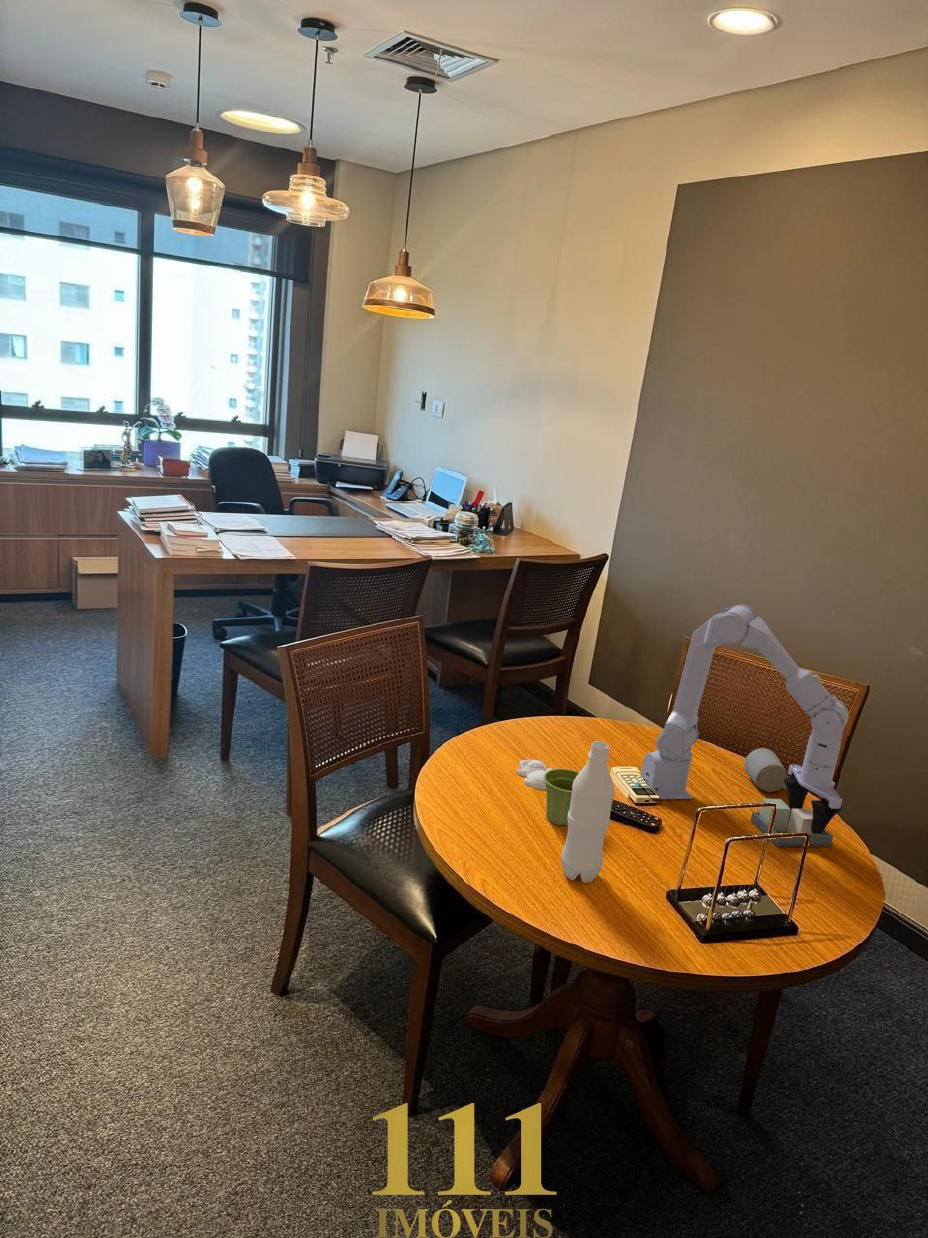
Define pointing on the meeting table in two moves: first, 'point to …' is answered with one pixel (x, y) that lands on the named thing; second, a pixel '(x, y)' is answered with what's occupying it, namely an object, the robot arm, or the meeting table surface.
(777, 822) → the sage block
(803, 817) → the grey block
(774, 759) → the ceramic mug
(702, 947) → the meeting table surface
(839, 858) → the meeting table surface
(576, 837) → the water bottle
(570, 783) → the plant pot
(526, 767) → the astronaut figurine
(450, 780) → the meeting table surface
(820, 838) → the tray
